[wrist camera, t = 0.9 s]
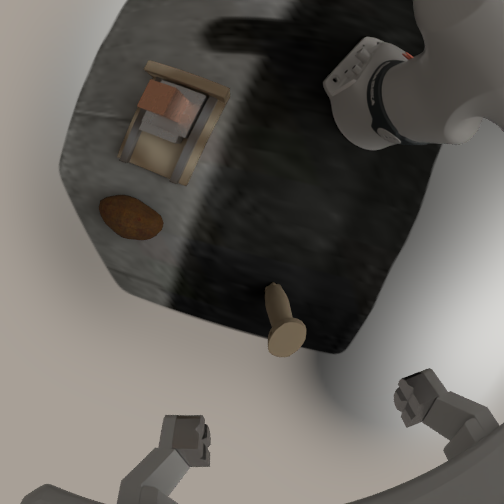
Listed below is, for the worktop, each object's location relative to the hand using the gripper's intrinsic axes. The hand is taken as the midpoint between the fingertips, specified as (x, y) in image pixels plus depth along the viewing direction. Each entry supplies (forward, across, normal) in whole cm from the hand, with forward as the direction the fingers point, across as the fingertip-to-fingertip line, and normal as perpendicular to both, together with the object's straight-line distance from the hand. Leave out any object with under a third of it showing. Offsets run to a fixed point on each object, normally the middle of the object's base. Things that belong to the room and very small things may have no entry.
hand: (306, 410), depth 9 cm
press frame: (+38, +11, -14) cm, 43 cm away
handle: (+38, -2, +17) cm, 42 cm away
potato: (+38, +20, -1) cm, 43 cm away
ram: (+37, +10, -16) cm, 42 cm away
